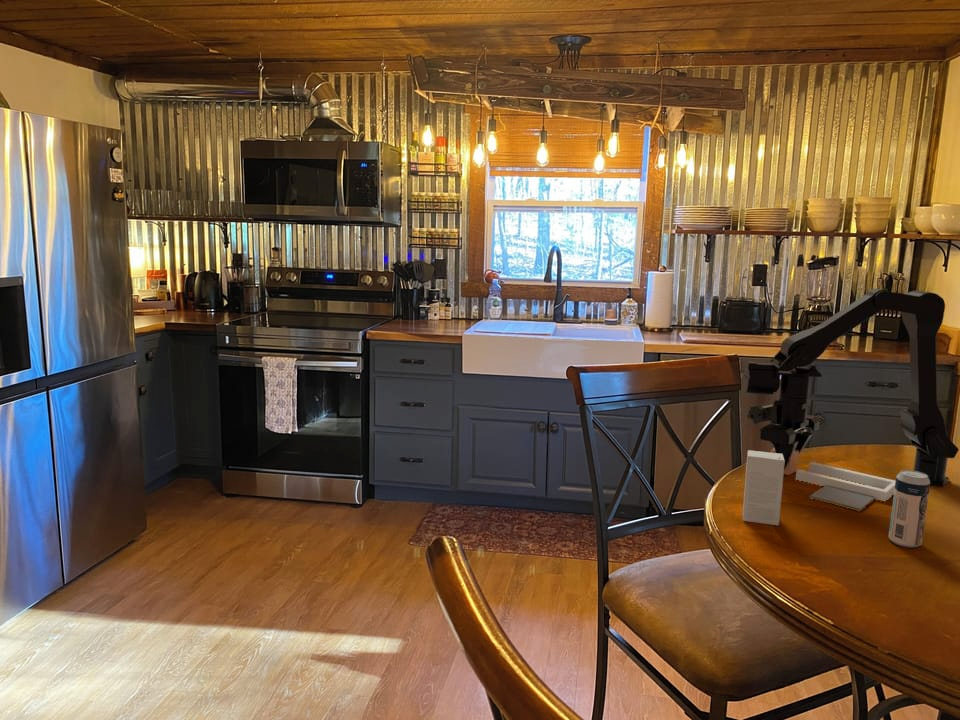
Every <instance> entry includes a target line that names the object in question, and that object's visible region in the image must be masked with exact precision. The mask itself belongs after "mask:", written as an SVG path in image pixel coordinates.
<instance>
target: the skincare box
mask: <svg viewBox="0 0 960 720" xmlns="http://www.w3.org/2000/svg"><path fill="white" fill-rule="evenodd" d="M746 453H747V454H746V456H747V457H746V466H745V467H746V468H745V481H744V482H745V483H744V492H743V493H744V495H743V507H742V520H743V522H749V523H757V524H763V525H770V526H779V525H780V518H781V517H780V516H781V508H782V507H781V506H782V505H781V504H782V496H783V495H782V494H783V484H784V475H785V474H784V464H785V460H784V457H783V454H779V453H770V451H769V452H768V451H767V452H766V451H758V450H750V449H748V450H747V452H746Z"/></svg>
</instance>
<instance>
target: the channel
mask: <svg viewBox="0 0 960 720" xmlns="http://www.w3.org/2000/svg"><path fill="white" fill-rule="evenodd" d="M795 473H796V474H795V481H797V480H799V481H798V482H801V481H804V482H803V483H805V482H809V483H814V484H818V485H823V486H825V485H829V486H833V487H837V488H841V489H845V490H850V491H854V492H858V493H862V494H866V495H870V496H874V497H875V499H878V500H882V501H886V500H887V501H888V500H889V499H890V498H892V495H893V496H894V490H895V482H896V479H890V478H885V477H881V476H877V475H872V474H868V473H863V472H859V471H856V470H855V471H854V470H849V469H845V468H842V467H836V466H832V465H828V464H824V463H819V462H814V461H810V462H809V463H808V470H804V469H797V471H795ZM821 474H822V475H821ZM825 475H827V476H825ZM829 476H832V477H829ZM834 477H835V478H834ZM838 478H839V479H838ZM842 479H843V480H842ZM846 480H848V481H846ZM851 481H852V482H851ZM855 482H856V483H855ZM809 483H808V484H809ZM859 483H861V484H859ZM863 484H865V485H863ZM878 500H877V501H878ZM882 501H881V502H882ZM887 501H886V502H887Z"/></svg>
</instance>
